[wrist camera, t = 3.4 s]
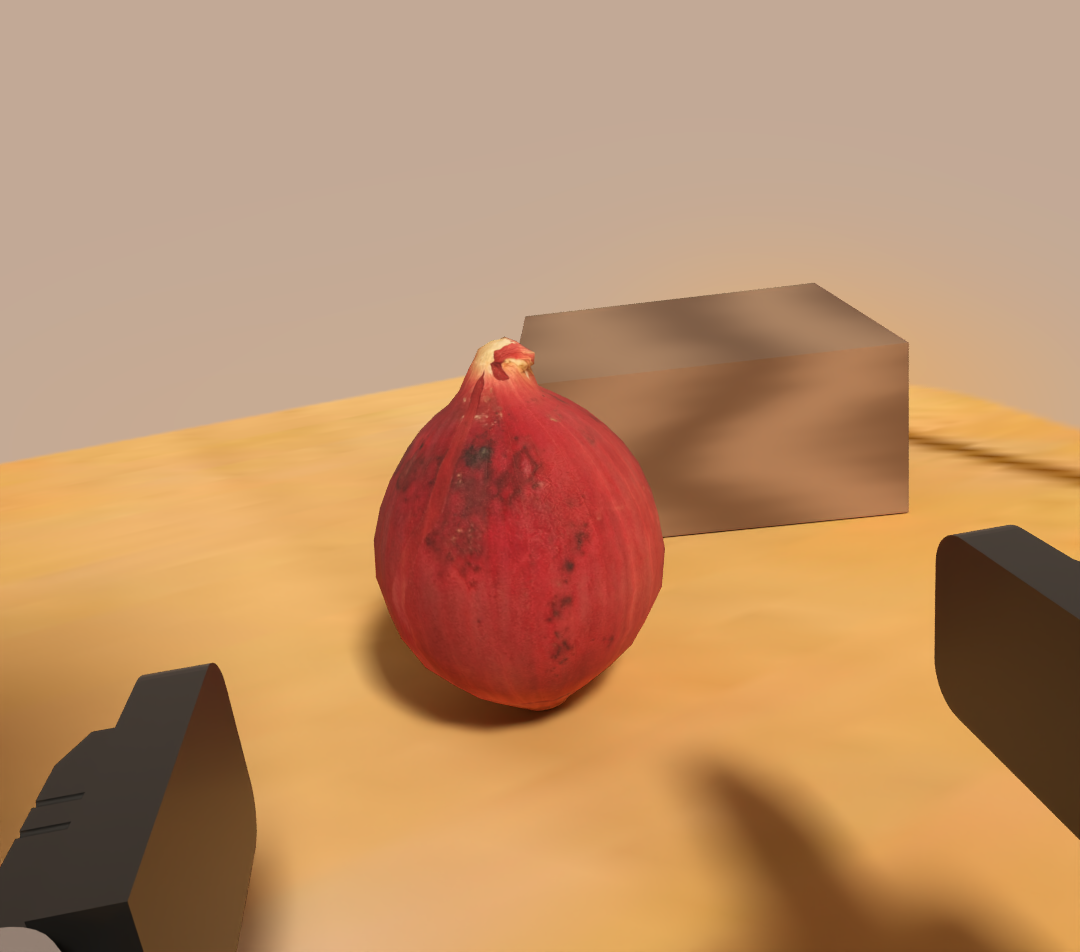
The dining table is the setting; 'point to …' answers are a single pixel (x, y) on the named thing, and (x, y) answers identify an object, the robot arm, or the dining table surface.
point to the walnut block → (742, 403)
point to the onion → (517, 539)
